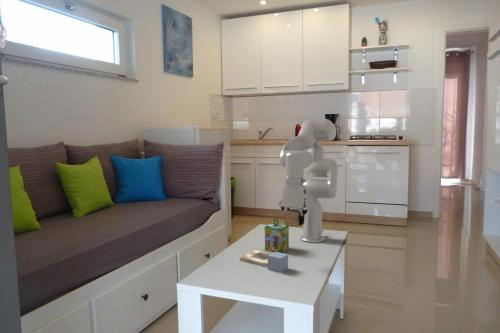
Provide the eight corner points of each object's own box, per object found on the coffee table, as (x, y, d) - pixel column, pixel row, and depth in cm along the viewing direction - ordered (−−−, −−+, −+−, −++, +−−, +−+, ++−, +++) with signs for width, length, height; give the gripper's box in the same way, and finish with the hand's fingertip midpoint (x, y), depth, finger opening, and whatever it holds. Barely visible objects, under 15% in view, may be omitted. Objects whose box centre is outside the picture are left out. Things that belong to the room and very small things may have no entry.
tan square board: (257, 252, 173) (257, 248, 173) (283, 257, 165) (283, 254, 165) (239, 260, 162) (239, 257, 162) (266, 267, 154) (266, 263, 153)
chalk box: (281, 253, 171) (281, 222, 170) (264, 250, 176) (264, 219, 174) (289, 247, 179) (289, 217, 178) (272, 245, 184) (272, 215, 182)
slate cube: (275, 265, 156) (275, 251, 155) (288, 268, 152) (288, 254, 152) (267, 269, 151) (267, 255, 150) (280, 273, 147) (280, 258, 147)
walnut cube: (291, 222, 161) (291, 208, 160) (303, 224, 157) (304, 210, 157) (284, 225, 156) (284, 211, 155) (297, 227, 153) (297, 212, 152)
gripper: (317, 181, 153) (316, 224, 155) (281, 179, 163) (281, 219, 165) (309, 184, 147) (308, 228, 149) (272, 180, 157) (272, 222, 159)
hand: (294, 223), depth 157 cm, fingers closed on walnut cube, 6 cm apart
